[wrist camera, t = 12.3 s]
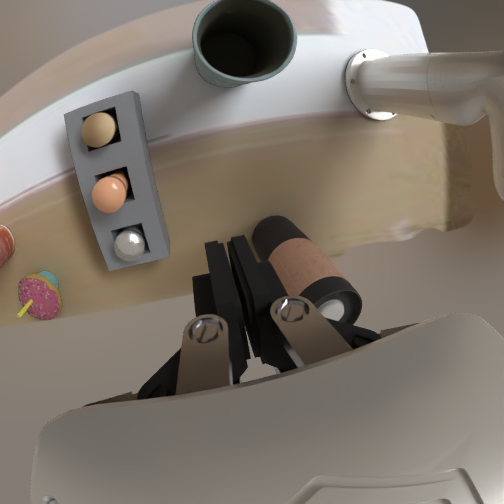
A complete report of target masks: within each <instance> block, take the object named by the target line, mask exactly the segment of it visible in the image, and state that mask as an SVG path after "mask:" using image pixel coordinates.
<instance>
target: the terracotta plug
mask: <svg viewBox="0 0 504 504" xmlns="http://www.w3.org/2000/svg"><path fill="white" fill-rule="evenodd" d="M129 187H130V178H129V176H128V175H127V174H126V173H125V172H123V171H115V172H113V173H112V174H110V175H109V176H106V177H104V178H102V179H101V180H99V181H98V182H97V183H96V185H95V186H94V188H93V190H92V200H93V203H94V205H95V206H96V207H97V208H98V209H99V210H100V211H102V212H105V213H112V212H115V211H117V210H118V209H119V208H120V207H121V206H122V205H123V203H124V201H125V199H126V196H127V190H128V189H129Z"/></svg>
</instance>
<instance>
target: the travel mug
mask: <svg viewBox="0 0 504 504" xmlns="http://www.w3.org/2000/svg"><path fill="white" fill-rule="evenodd" d="M253 244H254V247H255V249H256V252H257V254H258V256H259V258H260V260H261V262H265V261H270V262H271V264H272V266H273V268H274V270H275V271H276V273H277V275H278V277H279V279H280V281H281V282H282V284H283V286H284V288H285V290H286V292H287V294H288V295H289V296H291V295H296V296H301V297H304V298H306V299H308V300H309V301H310V302H311V303H312V304H313V305H314V306H315V307H316V308H317V309H318V310H319V311H320V313H321V314H322V315H323V316H324V317H325V318H329V319H332V320H336V321H339V322H343V323H347V324H350V325H353V324H354V323H355V322H356V320H357V319H358V317H359V315H360V313H361V309H362V300H361V297H360V295H359V294H358V292H357V291H356V290H355V289H354V288H353V287H352V285H351V284H350V283H349V282H348V281H347V280H346V279H345V277H344V276H343V275H342V274H341V273H340V272H339V271H338V269H337V268H336V267H335V266H334V265H333V264H332V263H331V262H330V260H329V259H328V258H327V257H326V256H325V255H324V254H323V253H322V252H321V250H320V249H319V248H318V247H317V246H316V245H315V244H314V243H313V242H312V241H311V240H310V239H309V238H308V237H307V236H306V235H305V234H304V233H303V232H301V231H300V230H299V229H298V228H297V227H296V226H295V225H294V224H293V223H292V222H291V221H289V220H288V219H287V218H285V217H282V216H271V217H268V218H266V219H264V220H262V221H261V222H260V223H259V224H258V225H257V227H256V228H255V230H254V233H253Z"/></svg>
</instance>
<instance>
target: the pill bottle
mask: <svg viewBox="0 0 504 504" xmlns="http://www.w3.org/2000/svg"><path fill="white" fill-rule="evenodd" d="M14 248H15V242H14V238H13V235H12V233H11V232H10V231H9V229H8V228H7V227H5V226H4V225H1V224H0V268H1V267H2V266H3V264H4V263H5V262H6V261H7V260H8V259H9V257H10V256H11V255H12V253H13V252H14Z"/></svg>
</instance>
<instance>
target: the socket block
mask: <svg viewBox="0 0 504 504" xmlns="http://www.w3.org/2000/svg"><path fill="white" fill-rule="evenodd" d="M113 110H116V114H117V120H118V126H119V131H120V136H121V140H120V141H116V142H113V143H110V144H107V145H103V146H101V147H91V146H89V145H87V144H86V143H85V142H84V140H83V138H82V134H81V131H82V126H83V123H84V122H85V120H86V119H87V118H88V117H89V116H91V115H92V114H95V113H107V112H110V111H113ZM64 118H65V124H66V130H67V135H68V140H69V145H70V149H71V154H72V158H73V162H74V166H75V170H76V174H77V178H78V182H79V185H80V189H81V192H82V196H83V199H84V202H85V205H86V209H87V212H88V215H89V218H90V221H91V224H92V227H93V230H94V232H95V235H96V238H97V241H98V243H99V246H100V249H101V251H102V254H103V256H104V259H105V261H106V264H107V266H108V269H109V271H113V270H117V269H121V268H125V267H130V266H134V265H138V264H143V263H147V262H151V261H156V260H160V259H164V258H169V254H170V239H169V236H168V232H167V228H166V224H165V220H164V217H163V213H162V209H161V204H160V200H159V196H158V192H157V188H156V183H155V179H154V174H153V170H152V165H151V160H150V155H149V150H148V145H147V140H146V134H145V129H144V123H143V117H142V111H141V105H140V98H139V94H138V93H136V92H134V91H130V92H126V93H123V94H119V95H116V96H113V97H110V98H106V99H103V100H100V101H98V102H95V103H92V104H89V105H86V106H84V107H81V108H78V109H76V110H73V111H71V112H68V113H66V114H64ZM125 166H127V169H128V173H129V178H130V182H131V186H132V190H133V191H132V192H128V193H127V196H126V199H125V201H124V203H123V205H122V206H121V207H120V208H119V209H118V210H117V211H115V212H112V213H105V212H102V211H100V210H99V209H98V208H97V207H96V206H95V205H94V203H93V200H92V190H93V188H94V186H95V185H96V183H97V182H98V181H99V180H101V179H102V178H104V177H106V173H105V172H108V171H111V170H115V169H118V168H122V167H125ZM139 223H142V226H143V230H144V233H145V236H146V239H144V241H145V247H144V252H143V254H142V256H141V257H140V258H139V259H138V260H136V261H132V262H128V261H124V260H122V259H120V258H119V257H118V256H117V255H116V253H115V250H114V242H115V240H116V238H117V236H118V234H119V233H120V232H121V231H122V229H121V228H123V227H127V226H131V225H135V224H139Z"/></svg>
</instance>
